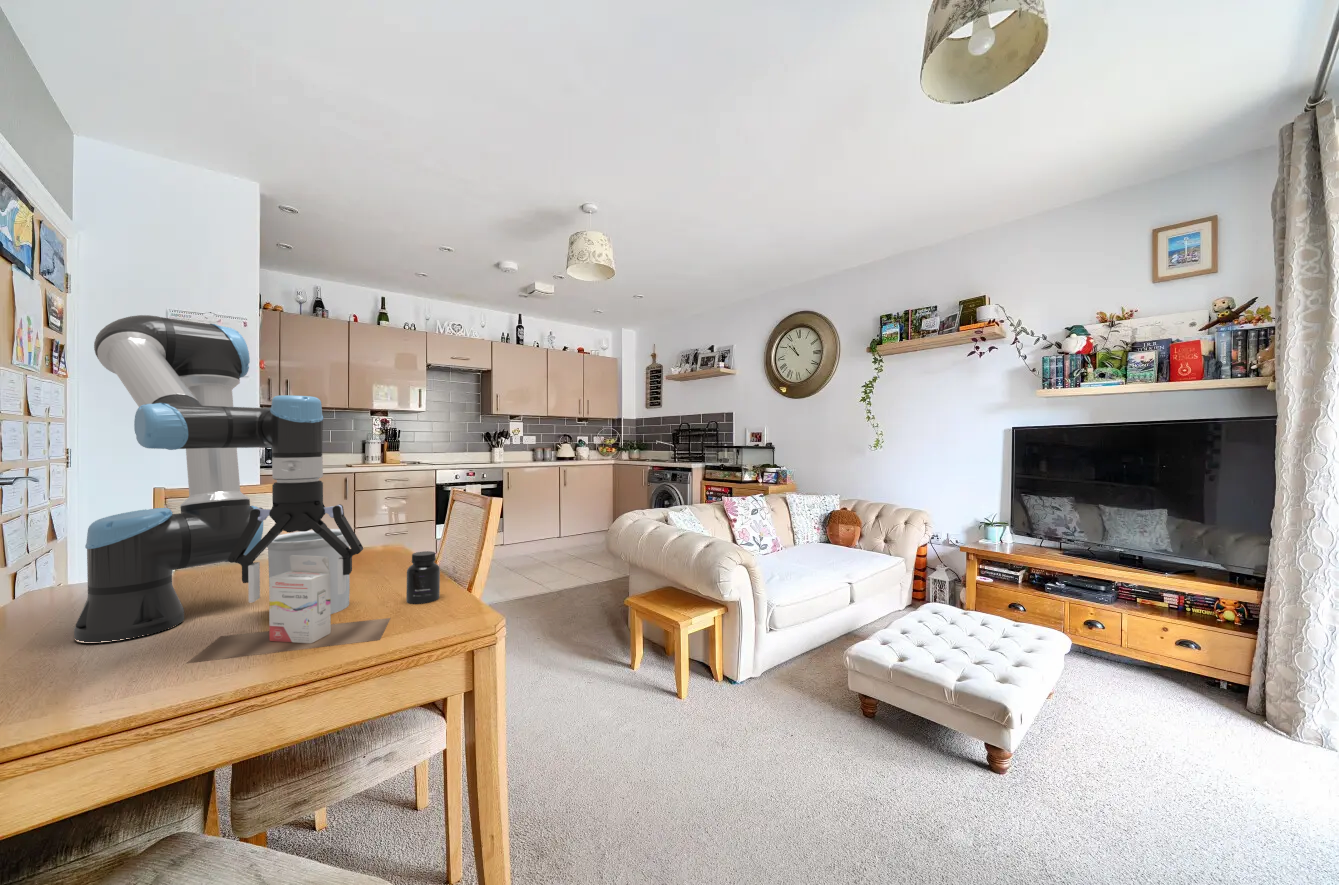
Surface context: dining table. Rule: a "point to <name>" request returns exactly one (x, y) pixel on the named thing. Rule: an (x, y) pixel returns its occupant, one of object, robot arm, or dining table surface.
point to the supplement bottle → (423, 579)
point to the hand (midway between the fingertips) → (299, 596)
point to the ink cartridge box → (300, 601)
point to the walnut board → (262, 645)
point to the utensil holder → (309, 546)
